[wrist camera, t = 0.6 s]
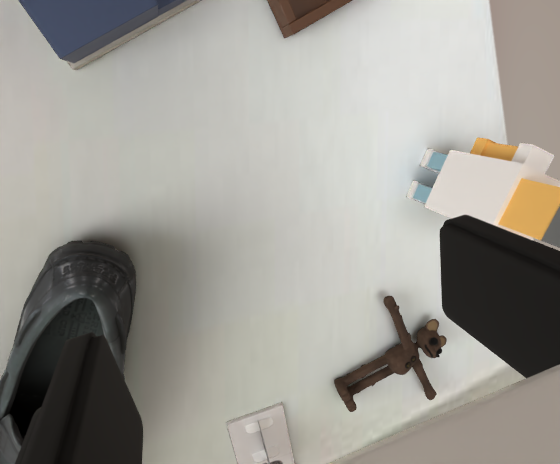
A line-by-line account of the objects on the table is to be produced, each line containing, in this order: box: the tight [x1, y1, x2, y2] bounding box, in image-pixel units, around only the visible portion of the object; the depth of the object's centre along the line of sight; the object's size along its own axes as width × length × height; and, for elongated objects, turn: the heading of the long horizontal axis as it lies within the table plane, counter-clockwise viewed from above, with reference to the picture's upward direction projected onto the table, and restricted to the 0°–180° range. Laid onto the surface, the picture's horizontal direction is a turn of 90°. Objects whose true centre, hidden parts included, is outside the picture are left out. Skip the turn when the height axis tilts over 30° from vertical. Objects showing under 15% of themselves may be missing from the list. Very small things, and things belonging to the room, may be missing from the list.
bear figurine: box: [334, 296, 446, 412], centre depth 46 cm, size 18×4×14 cm
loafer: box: [0, 241, 136, 464], centre depth 32 cm, size 10×29×10 cm, turn 166°
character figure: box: [406, 138, 560, 247], centre depth 34 cm, size 8×10×18 cm
